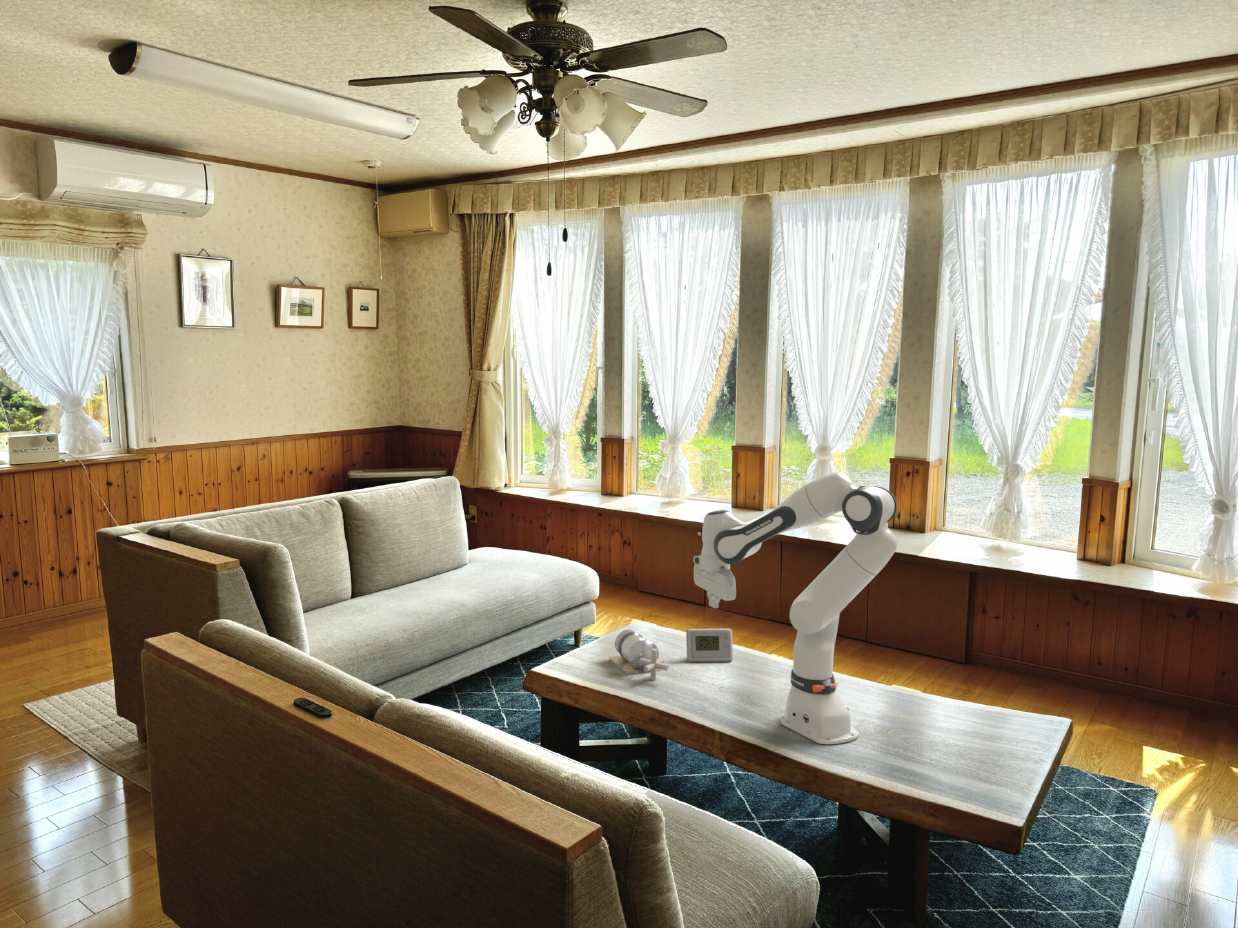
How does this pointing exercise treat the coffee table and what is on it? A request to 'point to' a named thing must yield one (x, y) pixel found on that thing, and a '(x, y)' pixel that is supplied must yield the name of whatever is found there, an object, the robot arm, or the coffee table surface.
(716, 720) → the coffee table surface
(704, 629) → the digital clock
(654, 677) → the pipe connector
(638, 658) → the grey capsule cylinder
